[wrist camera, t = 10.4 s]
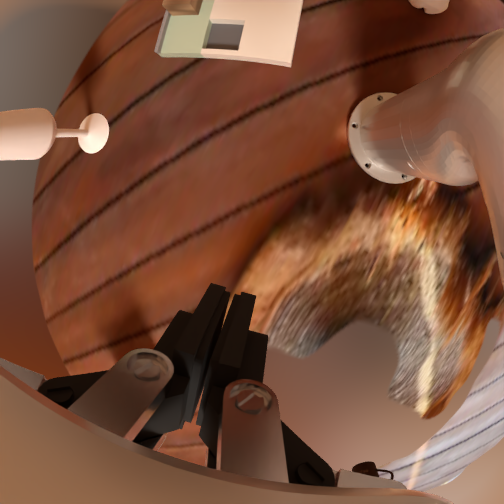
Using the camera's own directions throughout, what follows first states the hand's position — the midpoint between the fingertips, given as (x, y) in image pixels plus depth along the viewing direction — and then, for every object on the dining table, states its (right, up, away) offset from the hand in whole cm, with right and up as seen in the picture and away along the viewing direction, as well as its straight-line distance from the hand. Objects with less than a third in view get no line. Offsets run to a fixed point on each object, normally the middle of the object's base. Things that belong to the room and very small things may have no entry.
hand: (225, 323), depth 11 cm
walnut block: (-8, +37, +19) cm, 43 cm away
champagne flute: (-24, +22, +28) cm, 43 cm away
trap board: (-1, +37, +20) cm, 42 cm away
